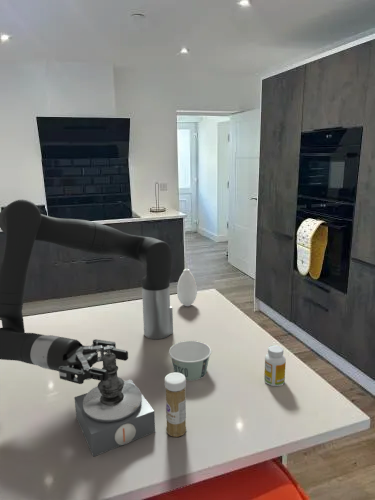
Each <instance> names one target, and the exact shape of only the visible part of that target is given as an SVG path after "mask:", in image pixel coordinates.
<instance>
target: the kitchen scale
mask: <svg viewBox="0 0 375 500" xmlns="http://www.w3.org/2000/svg"><path fill="white" fill-rule="evenodd" d="M124 382H128V383H131V384H134V385H135V386H136V384H135V383H134V381H133V380H132V379H128V380H124ZM87 393H88V392H87ZM87 393H83V394H81V395H77V396H74V397H73V399H74V408H75V417H76V420H77V423H78V425H79V426H80V429H81V431H82V434H83V436H84V438H85V441H86V443H87V445H88V448H89V450H90V452H91V455H92V457H95V456H98V455H101V454H104V453H106V452H109V451H111V450H113V449H115V448H116V449H117V448H118V447H120V446H123V445H127V444H129V443H131V442H133V441H136V440H139V439H141V438H142V437H143V438H144V437H146V436H149V435H151V434H153V433H155V432H156V424H155V423H156V420H155V418H156V417H155V410H154V409H153V407H152V406H151V404H150V403H149V402H148V400H147V399H146V398H145V396H144V394H142V403H141V406H140V408H139V409H138V410H137V412H135V413H134V414H133V415H131V416H130V417H128V418H126V419H124V420H121V421H117V422H110V423H103V422H97V421H94V420H92V419H90V418H88V417H87V416H86V415H85V413H84V410H83V400H84V397H85V396H86V394H87Z"/></svg>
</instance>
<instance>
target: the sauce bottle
mask: <svg viewBox="0 0 375 500" xmlns="http://www.w3.org/2000/svg"><path fill="white" fill-rule="evenodd" d="M196 282H197V281H196V279H195V277H194V275H193V273H192V272H191V269H189V268H188V263H186V264H185V269H183V271H182V273H181V275H180V276H179V279H178V281H177V287H176V294H177V299H178V301H179V303H180V304H182V305H183V306H185V307H190V306H192V304H195V303H194V302H195V301H196V299H197V295H198V287H197V283H196Z"/></svg>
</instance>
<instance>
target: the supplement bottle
mask: <svg viewBox="0 0 375 500" xmlns="http://www.w3.org/2000/svg"><path fill="white" fill-rule="evenodd" d="M263 375H264V376H263V377H264V382H265V384H267V385H269V386H271V387H281V386H283V385H284V384H285V381H286V380H285V379H286V356H285V355H284V348H283V347H282V346H280V345H276V344H275V345H270V346H268V348H267V353H266V355H265V357H264V374H263Z"/></svg>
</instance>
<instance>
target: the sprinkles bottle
mask: <svg viewBox="0 0 375 500" xmlns="http://www.w3.org/2000/svg"><path fill="white" fill-rule="evenodd" d="M186 381H187V380H186V378H185V376H184V375H183V374H181V373H177V372H174V371H173V372H170V373H168V374H167V375H166V376H165V377H164V387H165V418H166V428H165V429H166V430H165V431H166V433H167V434H168V435H169V436H171V437H174V438H176V437H177V438H178V437H182V436H183V435H184V434H185V433H187V426H186V424H187V423H186V418H187V416H186V415H187V412H186V411H187V407H186V406H187V404H186V403H187V400H186V398H187V397H186V385H187V382H186Z"/></svg>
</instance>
